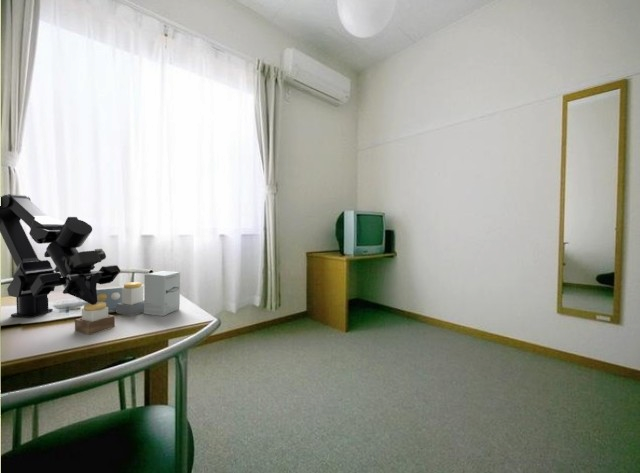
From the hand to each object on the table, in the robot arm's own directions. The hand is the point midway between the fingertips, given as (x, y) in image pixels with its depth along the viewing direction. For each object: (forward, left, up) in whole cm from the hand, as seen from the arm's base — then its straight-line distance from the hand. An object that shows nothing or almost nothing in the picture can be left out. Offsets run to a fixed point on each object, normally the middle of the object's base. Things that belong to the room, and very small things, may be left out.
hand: (95, 303), depth 75 cm
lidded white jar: (0, 0, -6) cm, 6 cm away
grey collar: (0, +14, -7) cm, 16 cm away
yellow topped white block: (0, +14, -4) cm, 15 cm away
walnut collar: (0, 0, -7) cm, 7 cm away
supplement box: (+9, +16, -7) cm, 19 cm away
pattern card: (-8, +14, -7) cm, 18 cm away
